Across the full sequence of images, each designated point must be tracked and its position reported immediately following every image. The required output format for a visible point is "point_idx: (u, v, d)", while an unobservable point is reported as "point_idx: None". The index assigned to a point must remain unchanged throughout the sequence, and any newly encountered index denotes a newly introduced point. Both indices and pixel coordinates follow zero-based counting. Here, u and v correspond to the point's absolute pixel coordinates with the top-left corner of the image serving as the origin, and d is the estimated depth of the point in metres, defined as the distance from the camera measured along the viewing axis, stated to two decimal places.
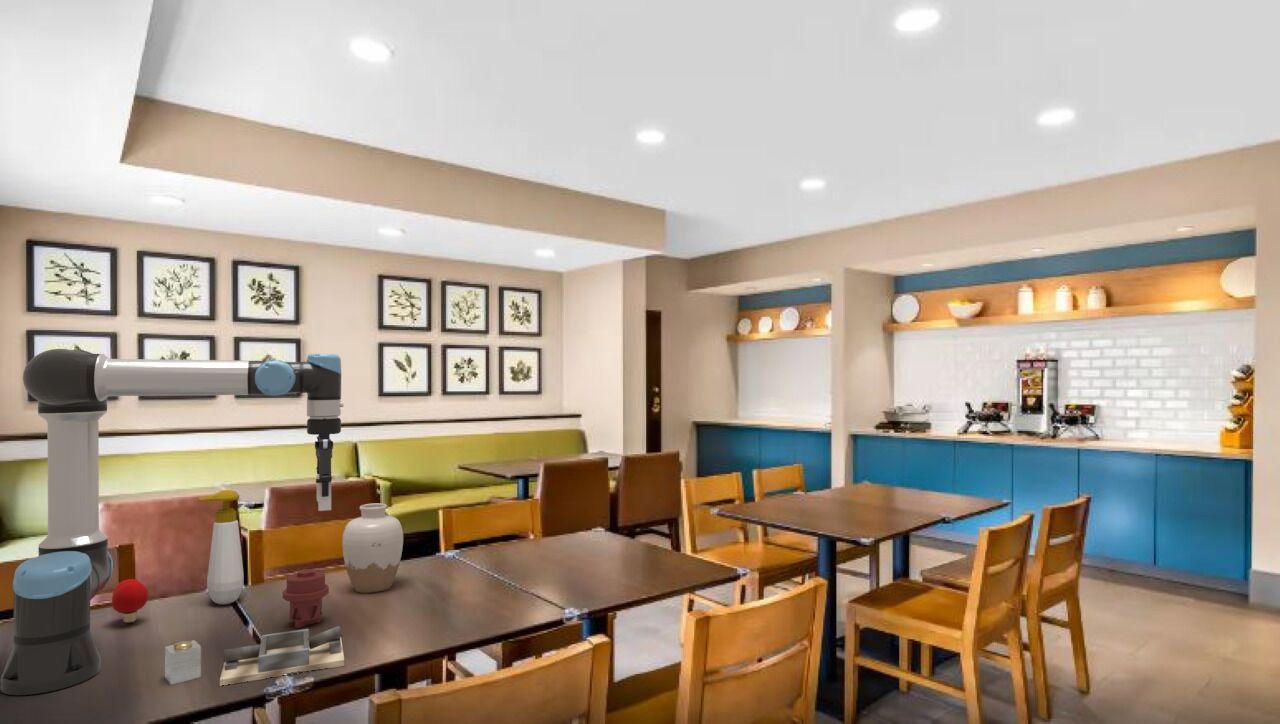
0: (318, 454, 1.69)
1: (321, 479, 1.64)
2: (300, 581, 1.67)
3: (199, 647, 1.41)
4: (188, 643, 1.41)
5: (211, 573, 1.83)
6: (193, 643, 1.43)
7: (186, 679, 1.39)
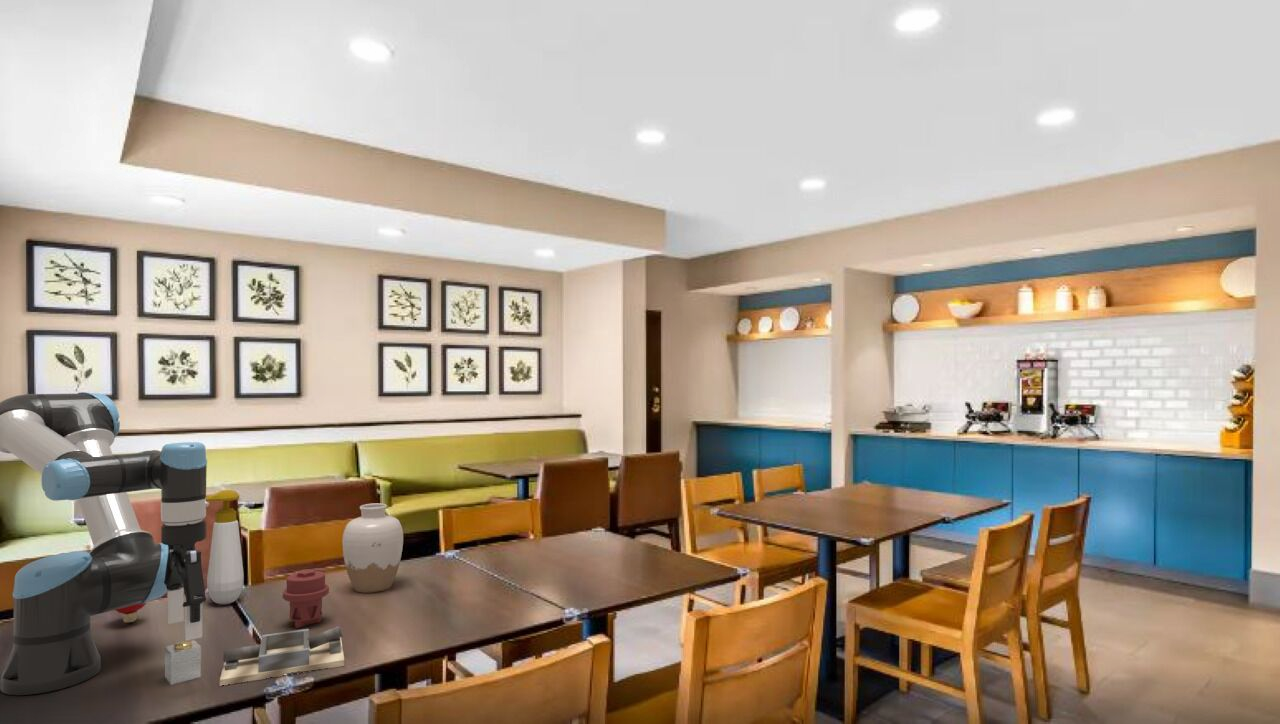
0: (181, 569, 1.37)
1: (193, 602, 1.33)
2: (300, 581, 1.67)
3: (199, 647, 1.41)
4: (188, 643, 1.41)
5: (211, 573, 1.83)
6: (193, 643, 1.43)
7: (186, 679, 1.39)
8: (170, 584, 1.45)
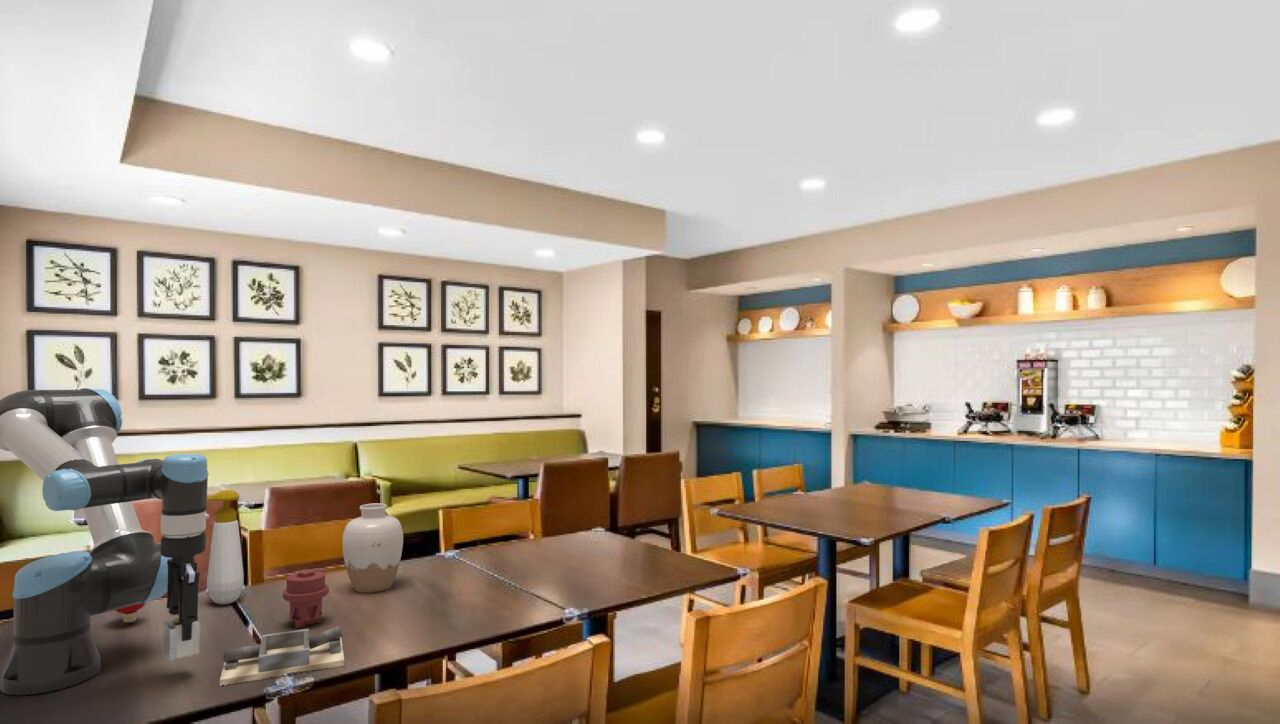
0: (178, 585, 1.38)
1: (184, 622, 1.36)
2: (300, 581, 1.67)
3: (198, 624, 1.41)
4: None
5: (211, 573, 1.83)
6: None
7: None
8: (172, 605, 1.42)
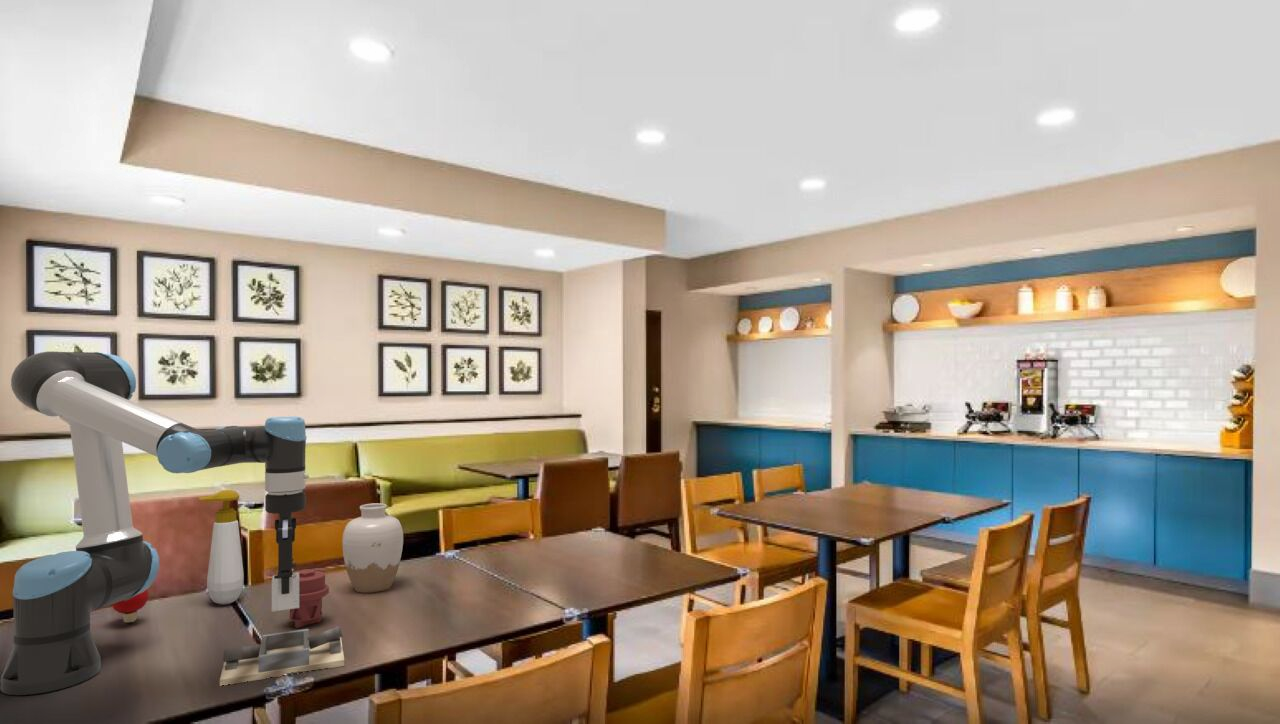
0: (278, 540, 1.45)
1: (280, 575, 1.42)
2: (300, 581, 1.67)
3: (297, 579, 1.47)
4: None
5: (211, 573, 1.83)
6: (296, 575, 1.49)
7: None
8: None
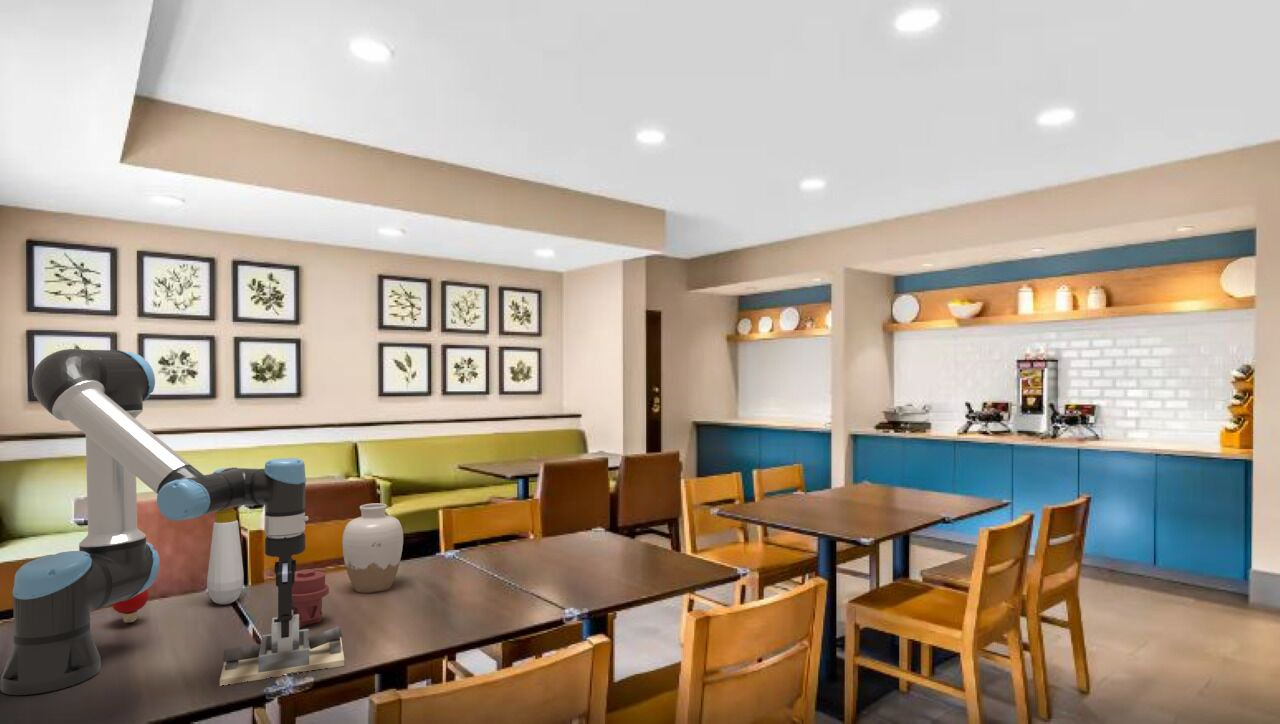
0: (277, 583, 1.45)
1: (279, 619, 1.42)
2: (300, 581, 1.67)
3: (297, 622, 1.46)
4: None
5: (211, 573, 1.83)
6: (295, 617, 1.49)
7: None
8: None
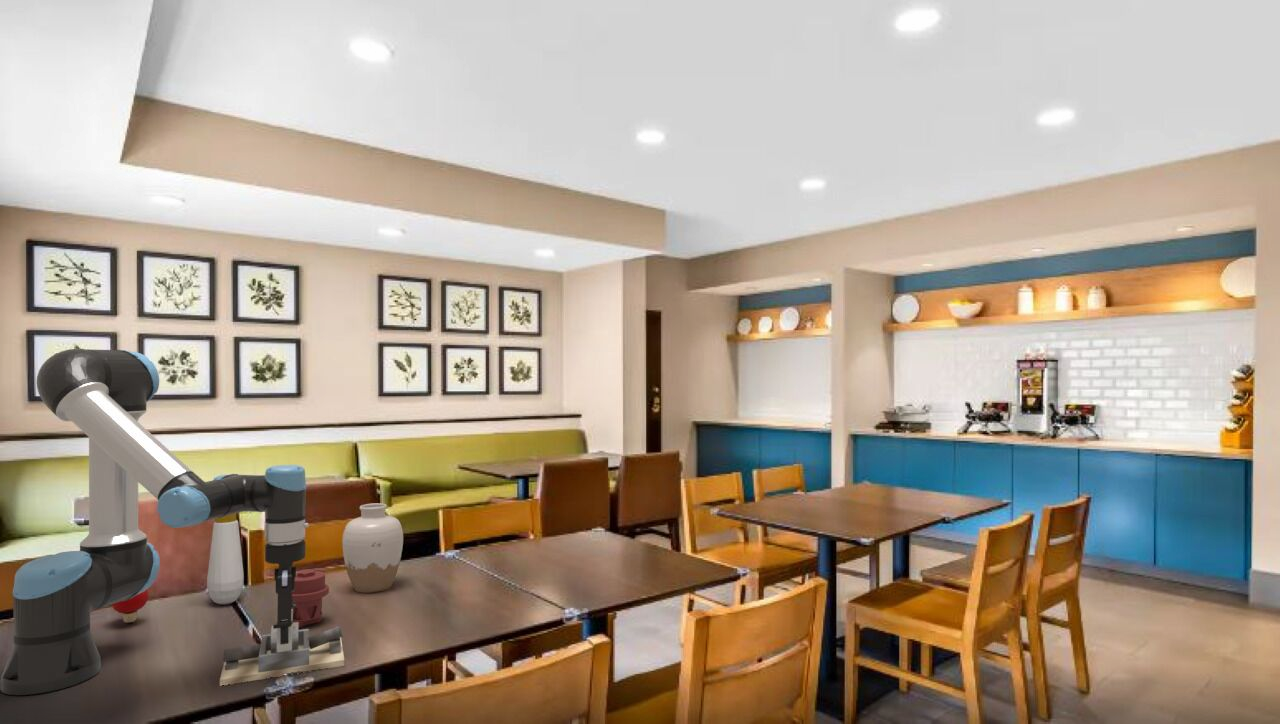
0: (277, 589, 1.44)
1: (279, 626, 1.40)
2: (300, 581, 1.67)
3: (296, 630, 1.46)
4: None
5: (211, 573, 1.83)
6: (295, 625, 1.49)
7: None
8: None
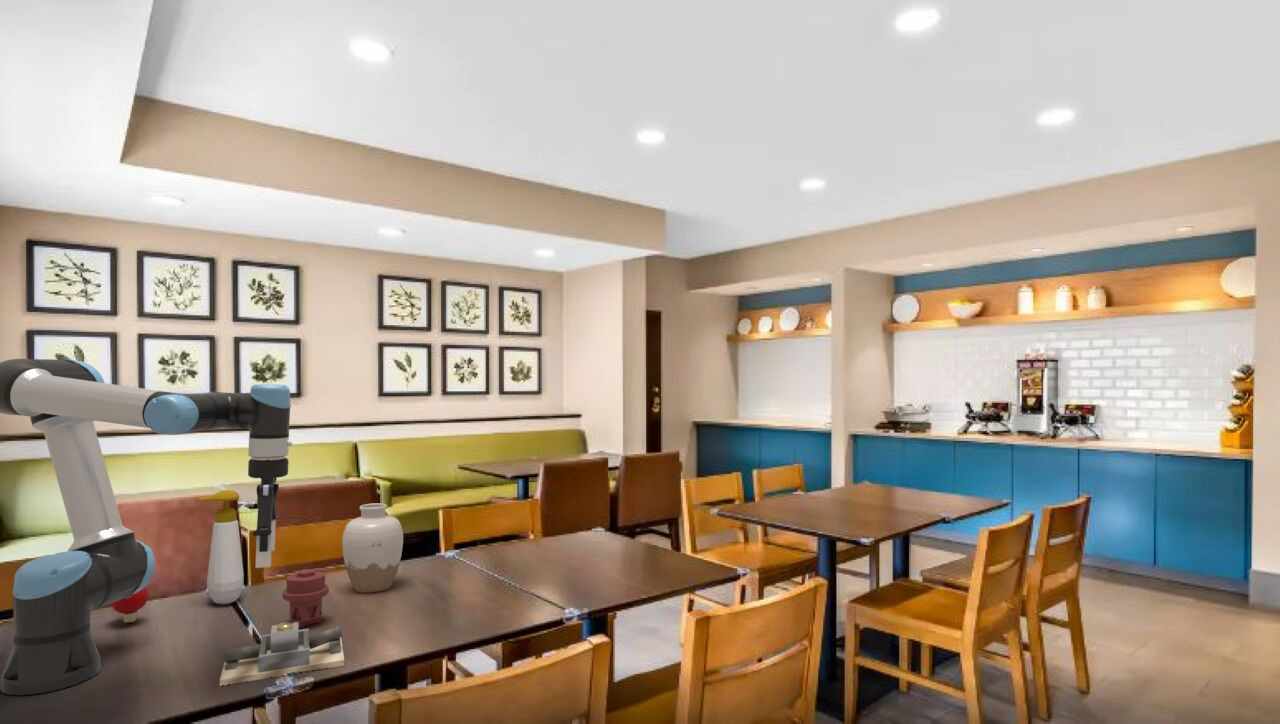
0: (259, 501, 1.47)
1: (258, 532, 1.41)
2: (300, 581, 1.67)
3: (296, 630, 1.46)
4: (289, 625, 1.47)
5: (211, 573, 1.83)
6: (295, 625, 1.49)
7: None
8: None
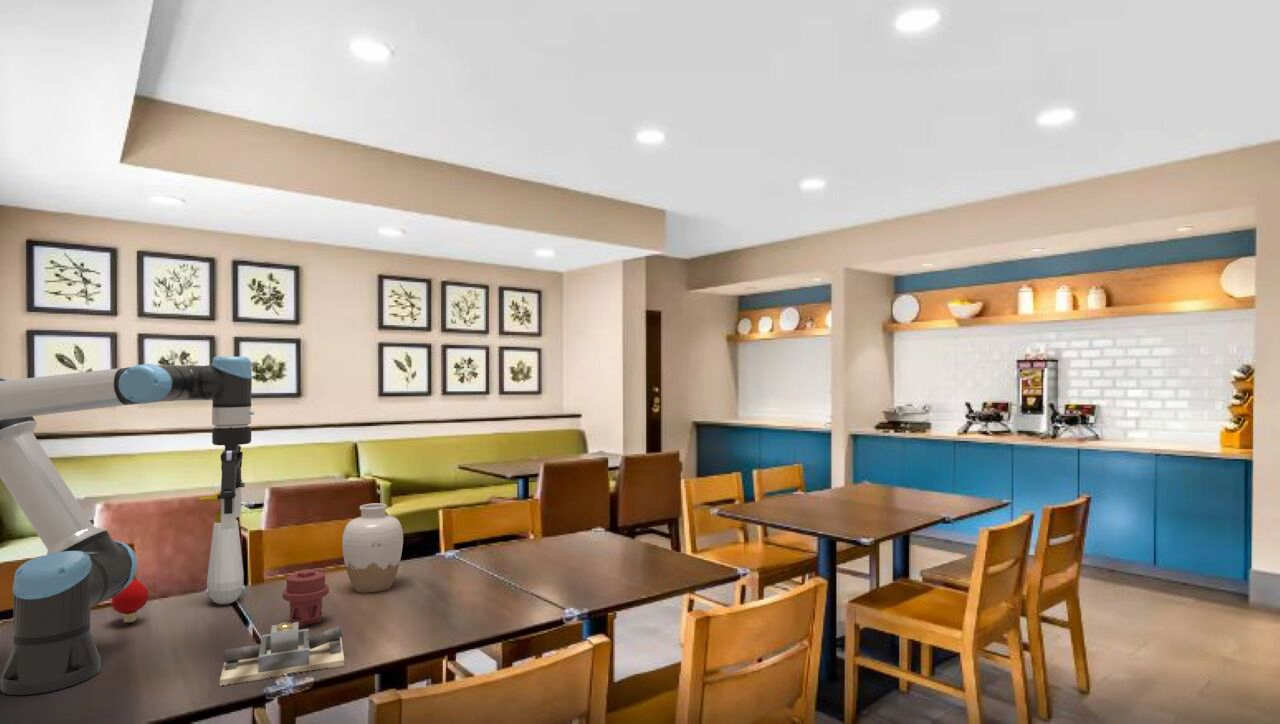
0: None
1: (222, 495, 1.48)
2: (300, 581, 1.67)
3: (296, 630, 1.46)
4: (289, 625, 1.47)
5: (211, 573, 1.83)
6: (295, 625, 1.49)
7: None
8: None
